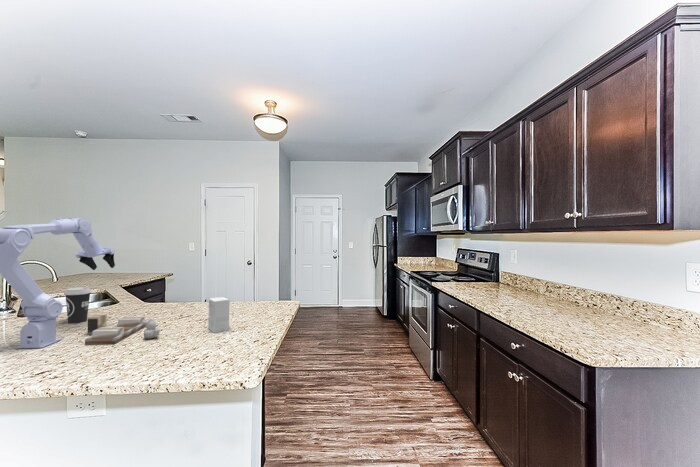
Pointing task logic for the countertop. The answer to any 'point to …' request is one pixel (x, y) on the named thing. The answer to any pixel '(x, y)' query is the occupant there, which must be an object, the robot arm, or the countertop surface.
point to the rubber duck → (151, 330)
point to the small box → (218, 314)
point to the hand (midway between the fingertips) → (104, 267)
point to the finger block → (96, 322)
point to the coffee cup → (77, 304)
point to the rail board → (117, 331)
